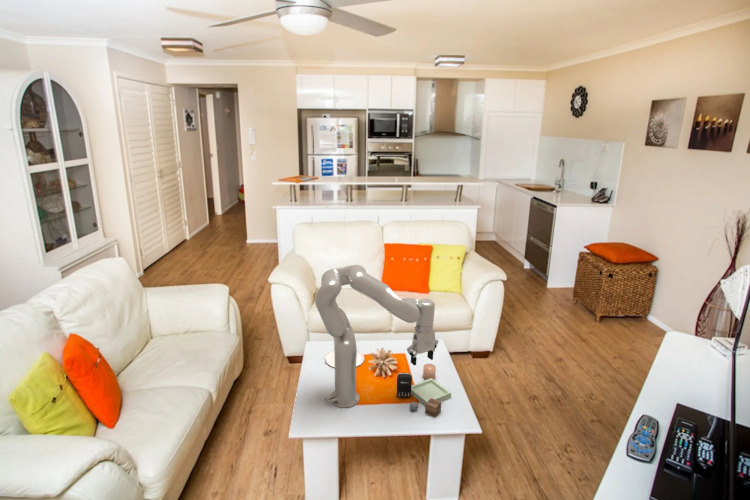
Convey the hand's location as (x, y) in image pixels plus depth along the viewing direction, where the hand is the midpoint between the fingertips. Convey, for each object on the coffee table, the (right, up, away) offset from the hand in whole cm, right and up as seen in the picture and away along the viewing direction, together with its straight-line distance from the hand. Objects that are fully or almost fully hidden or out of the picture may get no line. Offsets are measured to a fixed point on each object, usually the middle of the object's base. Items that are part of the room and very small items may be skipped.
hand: (421, 361), depth 200 cm
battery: (-8, -17, +4) cm, 19 cm away
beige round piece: (+6, -13, +19) cm, 24 cm away
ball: (-4, -20, -5) cm, 21 cm away
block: (+4, -21, -7) cm, 22 cm away
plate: (-37, -8, +35) cm, 52 cm away
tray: (+4, -17, +6) cm, 18 cm away
